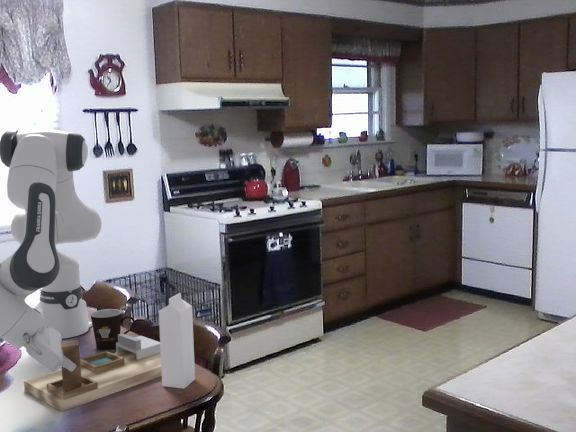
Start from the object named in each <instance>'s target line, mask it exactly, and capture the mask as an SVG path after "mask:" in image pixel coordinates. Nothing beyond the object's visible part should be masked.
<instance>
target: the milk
mask: <svg viewBox="0 0 576 432" xmlns="http://www.w3.org/2000/svg"><path fill="white" fill-rule="evenodd" d="M193 318H194V316H193V305H191V303H188V302H187V301H185V300H184V299H182V293H181V292H179V293H177V294H175V295H173V296H171V297H170V298H169V299H168V305H166V306H164V307H162V309H160V310H158V320H159V321H158V323H159V325H158V327H159V342H160V349H161V370H162V376H161V385H162V387H164V388H165V387H167V388H175V389H183V390H184V389H186V388H187V387H188V386H189V385H190V384H191V383H193V382H194V381H195V380H196V368H195V366H196V365H195V347H194V345H195V344H194V324H193V323H194V322H193Z"/></svg>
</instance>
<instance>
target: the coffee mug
mask: <svg viewBox="0 0 576 432" xmlns="http://www.w3.org/2000/svg"><path fill="white" fill-rule="evenodd" d="M122 313H123V312H122V310H120V309H116V308H114V309H113V308H105V309H99V310H96V311H92V312H91V313H90V319H91V322H92V326H91V327H92V331H93V336H94V341H95V346H96V350H99V351H103V352H105V351H112V350H116V343H118V334H121V328H122V327H121V326H122V324H123V322H124V321H125V320H126V319H130V320H131V321H132V323H133V325H131V327H130V328H128V329H127V330H126V331H124V332H122V333H123V334H126V335H127V334H128V333H130V331H131V330H132V329H134V328H135V326H136V320H135V318H134V317H133V316H129V315H126V316H124V317H122Z"/></svg>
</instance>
